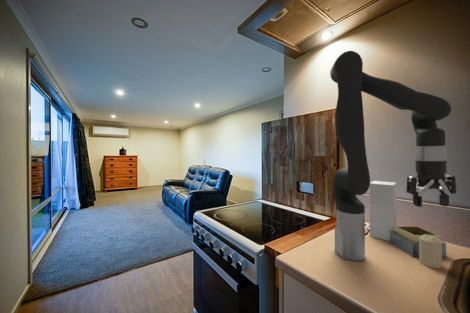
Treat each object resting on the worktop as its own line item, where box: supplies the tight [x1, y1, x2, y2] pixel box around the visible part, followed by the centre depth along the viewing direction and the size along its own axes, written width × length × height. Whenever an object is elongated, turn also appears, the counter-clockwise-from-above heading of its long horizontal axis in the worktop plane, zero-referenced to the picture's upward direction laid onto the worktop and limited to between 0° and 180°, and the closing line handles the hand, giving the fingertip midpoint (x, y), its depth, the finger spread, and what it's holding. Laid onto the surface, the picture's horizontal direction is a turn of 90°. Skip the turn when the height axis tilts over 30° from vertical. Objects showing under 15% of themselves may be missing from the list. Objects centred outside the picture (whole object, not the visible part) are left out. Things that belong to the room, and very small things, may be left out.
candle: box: [418, 234, 443, 269], centre depth 67 cm, size 6×6×10 cm
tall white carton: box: [368, 180, 398, 242], centre depth 88 cm, size 9×9×25 cm
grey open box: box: [389, 225, 447, 258], centre depth 76 cm, size 12×11×8 cm
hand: (430, 205), depth 66 cm, fingers open, 8 cm apart
